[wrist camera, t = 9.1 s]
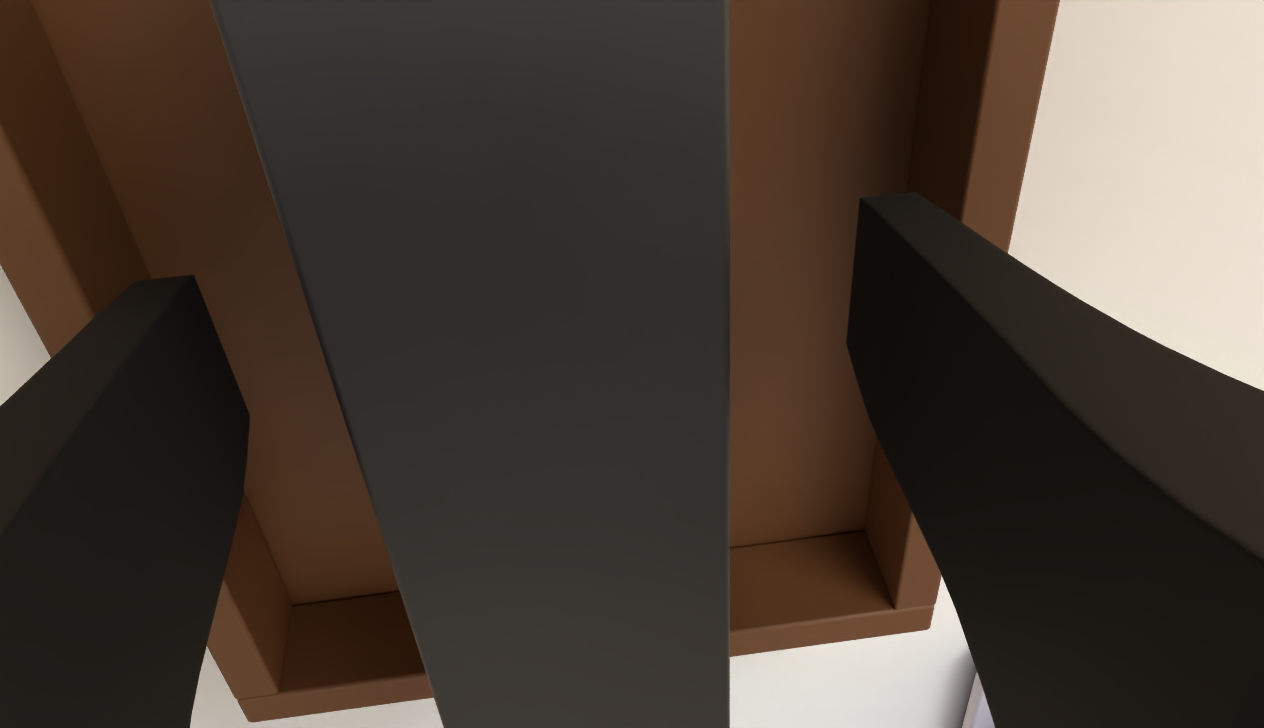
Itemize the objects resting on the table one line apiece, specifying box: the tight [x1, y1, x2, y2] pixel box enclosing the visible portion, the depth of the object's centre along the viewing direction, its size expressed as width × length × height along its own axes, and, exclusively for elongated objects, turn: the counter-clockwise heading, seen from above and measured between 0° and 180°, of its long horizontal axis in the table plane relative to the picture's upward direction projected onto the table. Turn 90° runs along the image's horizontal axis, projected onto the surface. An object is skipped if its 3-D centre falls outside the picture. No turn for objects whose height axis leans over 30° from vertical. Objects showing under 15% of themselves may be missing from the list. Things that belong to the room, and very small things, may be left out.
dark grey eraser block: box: [209, 0, 730, 728], centre depth 12 cm, size 12×4×5 cm, turn 3°
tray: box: [0, 0, 1060, 722], centre depth 13 cm, size 16×11×2 cm
